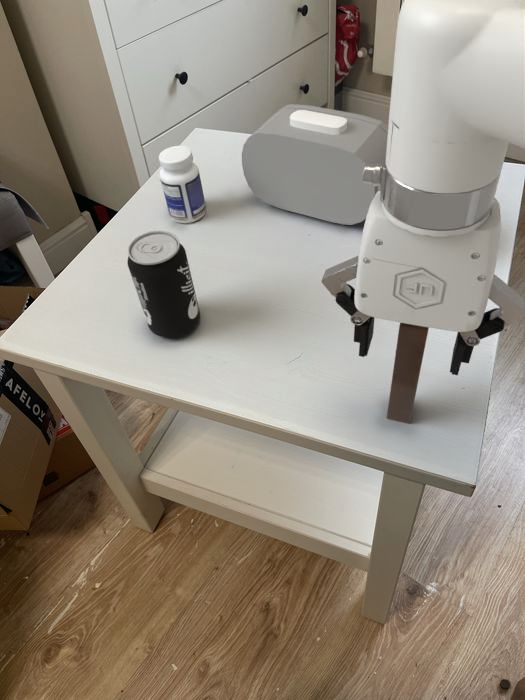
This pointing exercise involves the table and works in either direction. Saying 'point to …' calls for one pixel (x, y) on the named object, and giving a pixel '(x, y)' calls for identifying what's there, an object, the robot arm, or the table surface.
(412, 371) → the stick
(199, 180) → the pill bottle
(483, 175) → the robot arm
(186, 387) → the table surface
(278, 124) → the alarm clock
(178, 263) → the beverage can
